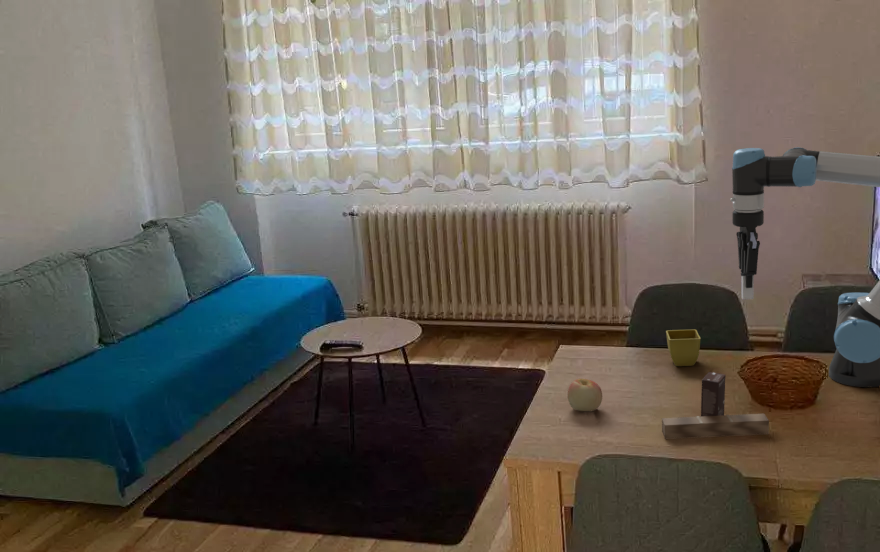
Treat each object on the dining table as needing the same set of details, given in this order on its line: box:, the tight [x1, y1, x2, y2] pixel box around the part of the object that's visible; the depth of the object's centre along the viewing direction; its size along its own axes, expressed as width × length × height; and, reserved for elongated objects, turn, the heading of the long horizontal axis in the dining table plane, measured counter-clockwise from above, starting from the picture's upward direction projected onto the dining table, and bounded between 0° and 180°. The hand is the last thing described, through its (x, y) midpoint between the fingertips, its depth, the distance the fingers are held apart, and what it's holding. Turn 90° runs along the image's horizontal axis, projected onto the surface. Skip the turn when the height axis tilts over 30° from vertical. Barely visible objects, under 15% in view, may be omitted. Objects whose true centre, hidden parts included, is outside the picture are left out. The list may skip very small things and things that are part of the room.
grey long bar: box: [661, 413, 770, 440], centre depth 206 cm, size 24×4×4 cm, turn 86°
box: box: [700, 371, 726, 416], centre depth 210 cm, size 6×4×12 cm
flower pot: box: [665, 329, 702, 367], centre depth 250 cm, size 9×9×9 cm
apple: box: [567, 378, 603, 412], centre depth 224 cm, size 9×9×8 cm
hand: (747, 298), depth 226 cm, fingers closed
